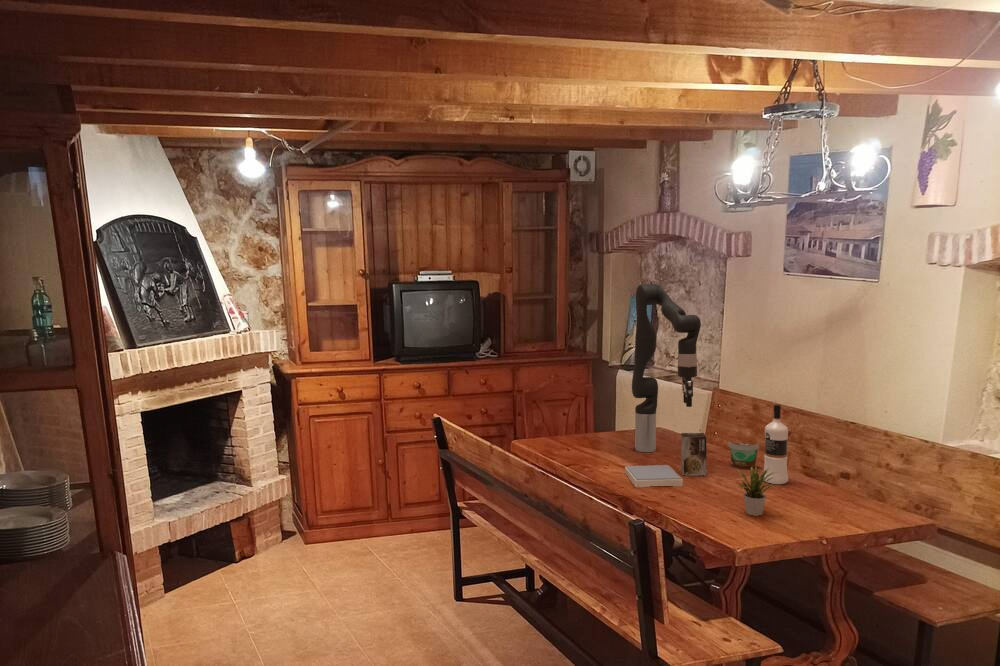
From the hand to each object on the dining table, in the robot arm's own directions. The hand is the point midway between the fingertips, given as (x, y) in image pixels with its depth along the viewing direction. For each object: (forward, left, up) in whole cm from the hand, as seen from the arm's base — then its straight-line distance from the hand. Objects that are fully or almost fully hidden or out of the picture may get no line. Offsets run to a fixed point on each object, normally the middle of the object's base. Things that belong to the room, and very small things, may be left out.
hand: (687, 404), depth 280 cm
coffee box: (+4, +2, -28) cm, 28 cm away
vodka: (+16, +30, -28) cm, 43 cm away
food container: (-3, +25, -28) cm, 37 cm away
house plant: (+50, +9, -28) cm, 57 cm away
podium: (+10, -16, -27) cm, 33 cm away
